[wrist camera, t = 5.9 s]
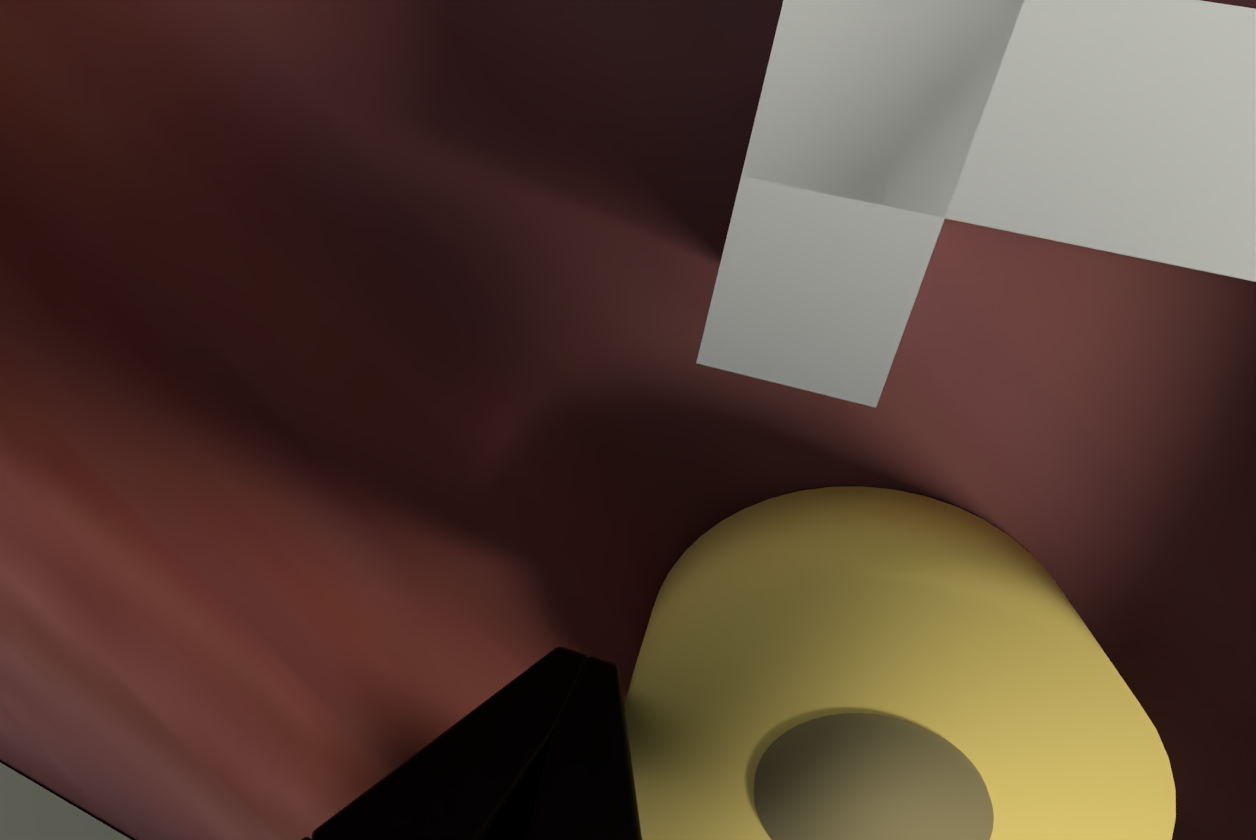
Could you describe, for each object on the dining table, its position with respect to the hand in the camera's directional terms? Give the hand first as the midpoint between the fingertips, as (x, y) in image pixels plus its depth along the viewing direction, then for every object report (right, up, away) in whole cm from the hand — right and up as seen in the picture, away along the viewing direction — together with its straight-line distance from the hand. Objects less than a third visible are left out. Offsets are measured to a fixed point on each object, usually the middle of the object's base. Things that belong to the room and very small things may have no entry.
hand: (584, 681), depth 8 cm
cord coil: (+4, 0, +1) cm, 4 cm away
